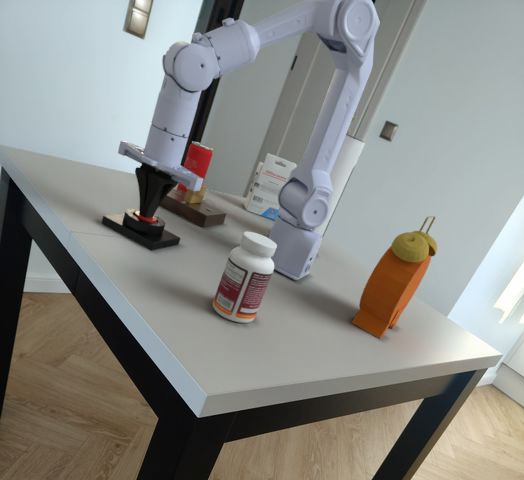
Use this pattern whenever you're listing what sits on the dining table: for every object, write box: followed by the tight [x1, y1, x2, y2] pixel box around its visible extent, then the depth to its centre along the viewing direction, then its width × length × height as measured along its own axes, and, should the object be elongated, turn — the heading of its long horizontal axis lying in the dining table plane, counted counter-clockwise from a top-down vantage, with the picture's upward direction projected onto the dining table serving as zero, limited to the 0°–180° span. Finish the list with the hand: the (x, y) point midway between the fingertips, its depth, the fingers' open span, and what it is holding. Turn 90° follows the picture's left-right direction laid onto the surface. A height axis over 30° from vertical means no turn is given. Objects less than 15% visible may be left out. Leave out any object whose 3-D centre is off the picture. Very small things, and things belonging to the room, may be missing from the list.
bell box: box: [101, 208, 181, 251], centre depth 83 cm, size 10×8×3 cm
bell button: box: [134, 211, 157, 223], centre depth 83 cm, size 4×4×2 cm
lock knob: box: [184, 184, 208, 204], centre depth 104 cm, size 5×1×4 cm, turn 156°
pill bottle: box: [212, 231, 277, 324], centre depth 68 cm, size 6×6×11 cm
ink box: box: [243, 152, 298, 221], centre depth 128 cm, size 8×5×15 cm, turn 99°
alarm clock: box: [351, 215, 438, 339], centre depth 84 cm, size 13×6×20 cm, turn 150°
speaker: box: [315, 133, 366, 238], centre depth 110 cm, size 11×10×26 cm
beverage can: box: [176, 140, 214, 193], centre depth 113 cm, size 5×5×12 cm
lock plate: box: [159, 189, 227, 228], centre depth 105 cm, size 12×9×3 cm
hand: (146, 215), depth 82 cm, fingers closed, pressing on bell button
